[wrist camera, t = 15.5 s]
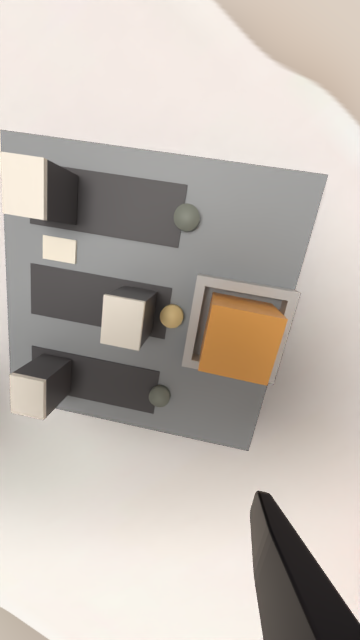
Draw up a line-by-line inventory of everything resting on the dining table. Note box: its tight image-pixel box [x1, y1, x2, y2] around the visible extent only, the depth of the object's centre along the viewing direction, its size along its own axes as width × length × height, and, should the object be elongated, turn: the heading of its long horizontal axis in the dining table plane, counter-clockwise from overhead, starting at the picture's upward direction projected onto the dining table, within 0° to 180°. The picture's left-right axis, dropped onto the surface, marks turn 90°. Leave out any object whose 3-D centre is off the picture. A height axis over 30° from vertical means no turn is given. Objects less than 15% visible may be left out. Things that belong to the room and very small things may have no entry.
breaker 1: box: [0, 151, 78, 225], centre depth 15 cm, size 2×3×4 cm
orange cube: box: [198, 292, 288, 386], centre depth 16 cm, size 4×4×4 cm
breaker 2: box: [9, 354, 72, 420], centre depth 19 cm, size 2×3×4 cm
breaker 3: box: [100, 286, 157, 351], centre depth 17 cm, size 2×3×4 cm
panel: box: [0, 130, 328, 451], centre depth 19 cm, size 20×20×3 cm
